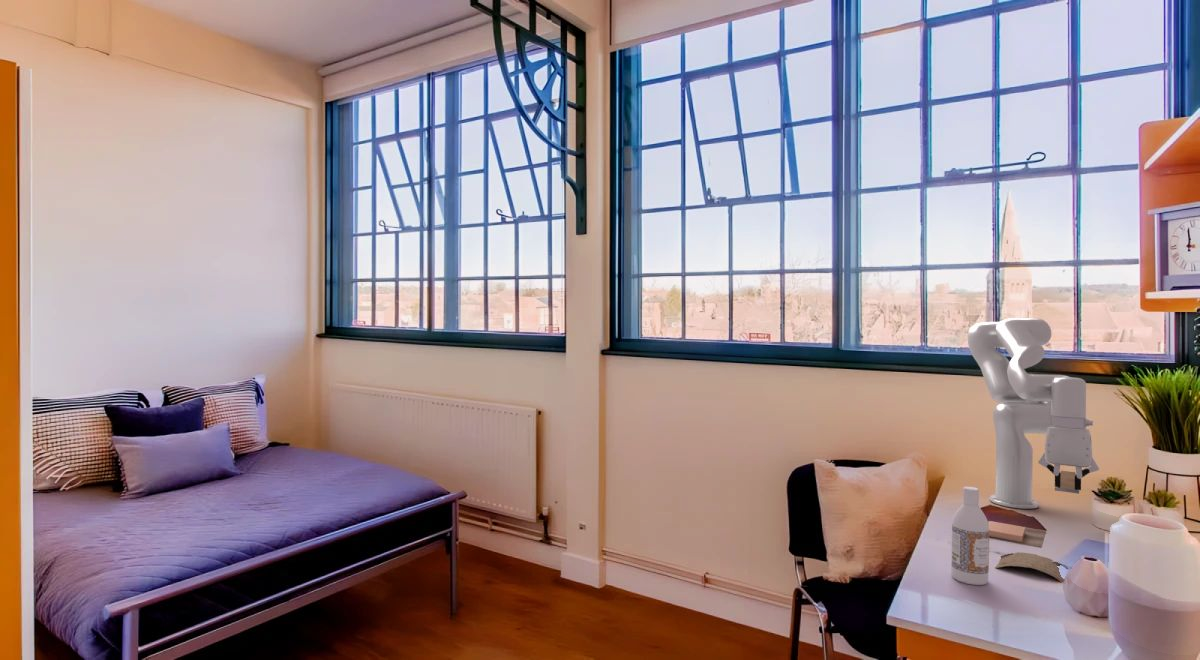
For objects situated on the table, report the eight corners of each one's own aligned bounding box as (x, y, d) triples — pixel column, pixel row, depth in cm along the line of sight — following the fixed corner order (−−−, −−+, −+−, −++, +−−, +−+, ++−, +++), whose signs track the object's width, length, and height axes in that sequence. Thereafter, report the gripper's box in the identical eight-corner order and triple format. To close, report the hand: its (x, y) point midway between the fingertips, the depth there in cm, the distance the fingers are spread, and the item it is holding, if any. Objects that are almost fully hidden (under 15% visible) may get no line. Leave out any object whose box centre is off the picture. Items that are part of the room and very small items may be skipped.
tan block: (1057, 488, 173) (1057, 470, 173) (1079, 491, 170) (1080, 472, 170) (1054, 490, 163) (1054, 471, 164) (1078, 493, 160) (1078, 473, 161)
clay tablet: (1070, 572, 142) (1070, 560, 142) (1070, 587, 134) (1070, 574, 134) (995, 557, 150) (995, 546, 150) (991, 570, 142) (991, 559, 142)
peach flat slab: (989, 520, 167) (984, 529, 160) (1025, 527, 162) (1022, 536, 155) (989, 526, 167) (984, 535, 160) (1025, 533, 162) (1022, 542, 155)
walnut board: (983, 525, 173) (983, 520, 173) (1045, 536, 164) (1045, 530, 164) (974, 540, 160) (974, 534, 160) (1041, 553, 151) (1041, 547, 151)
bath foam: (969, 587, 132) (970, 493, 131) (944, 574, 138) (945, 484, 138) (996, 584, 133) (997, 491, 133) (970, 571, 140) (971, 483, 140)
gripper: (1107, 424, 166) (1106, 493, 166) (1032, 418, 176) (1032, 483, 176) (1107, 427, 160) (1106, 499, 160) (1030, 421, 170) (1029, 488, 170)
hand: (1067, 490), depth 168 cm, fingers closed on tan block, 3 cm apart
